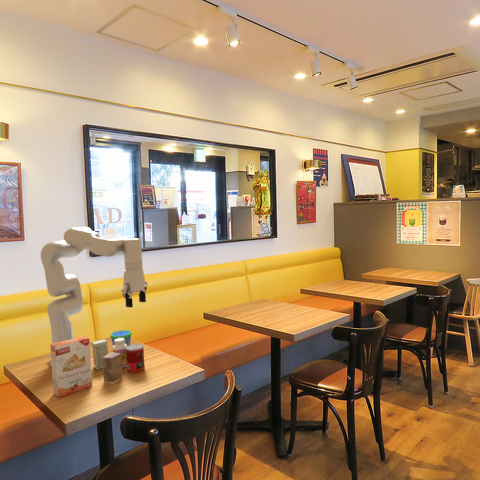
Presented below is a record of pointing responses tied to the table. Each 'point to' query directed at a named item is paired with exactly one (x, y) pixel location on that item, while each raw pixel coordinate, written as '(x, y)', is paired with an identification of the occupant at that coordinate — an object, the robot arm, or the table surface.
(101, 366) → the skincare box
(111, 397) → the table surface
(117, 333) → the snack cup
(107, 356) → the walnut block
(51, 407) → the table surface
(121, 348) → the supplement bottle
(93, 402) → the table surface
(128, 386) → the table surface
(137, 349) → the canned food
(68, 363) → the cracker box
